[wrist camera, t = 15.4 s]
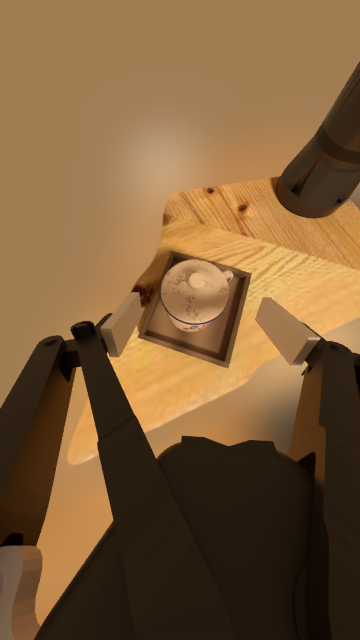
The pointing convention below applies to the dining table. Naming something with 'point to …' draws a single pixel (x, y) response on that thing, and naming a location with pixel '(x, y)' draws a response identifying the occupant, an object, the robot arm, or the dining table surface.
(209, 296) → the teacup with lid
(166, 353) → the dining table surface
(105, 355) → the robot arm
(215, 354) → the walnut tray
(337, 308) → the dining table surface
